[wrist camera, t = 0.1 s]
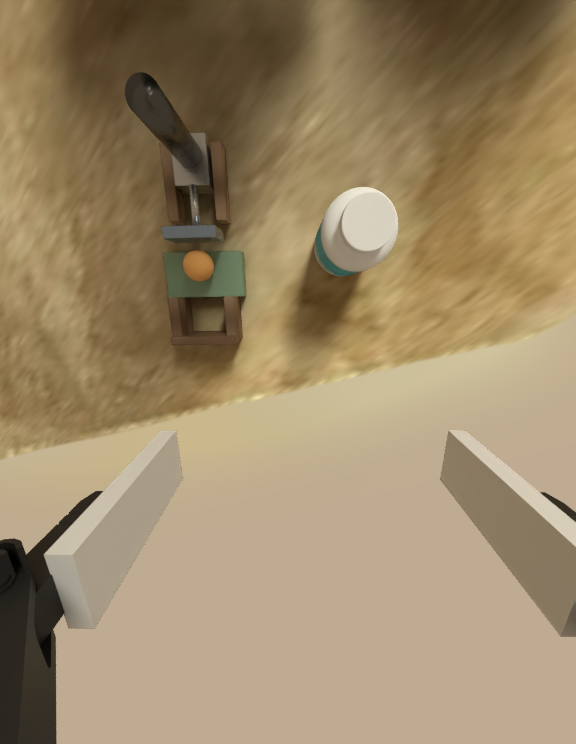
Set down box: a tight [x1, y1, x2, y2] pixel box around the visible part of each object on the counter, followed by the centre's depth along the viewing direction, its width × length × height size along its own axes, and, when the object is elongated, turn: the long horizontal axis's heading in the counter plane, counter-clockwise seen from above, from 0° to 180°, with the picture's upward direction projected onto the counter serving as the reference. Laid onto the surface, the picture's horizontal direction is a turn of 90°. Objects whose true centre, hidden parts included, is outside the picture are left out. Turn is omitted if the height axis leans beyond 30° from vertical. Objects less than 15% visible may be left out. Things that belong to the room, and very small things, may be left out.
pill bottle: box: [314, 187, 398, 276], centre depth 30 cm, size 8×7×14 cm
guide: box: [159, 141, 231, 225], centre depth 34 cm, size 8×7×2 cm
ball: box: [183, 250, 214, 281], centre depth 34 cm, size 4×4×4 cm
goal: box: [168, 296, 243, 345], centre depth 37 cm, size 6×8×5 cm
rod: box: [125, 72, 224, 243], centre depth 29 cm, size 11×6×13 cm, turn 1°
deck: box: [163, 251, 246, 298], centre depth 37 cm, size 6×10×2 cm, turn 91°
